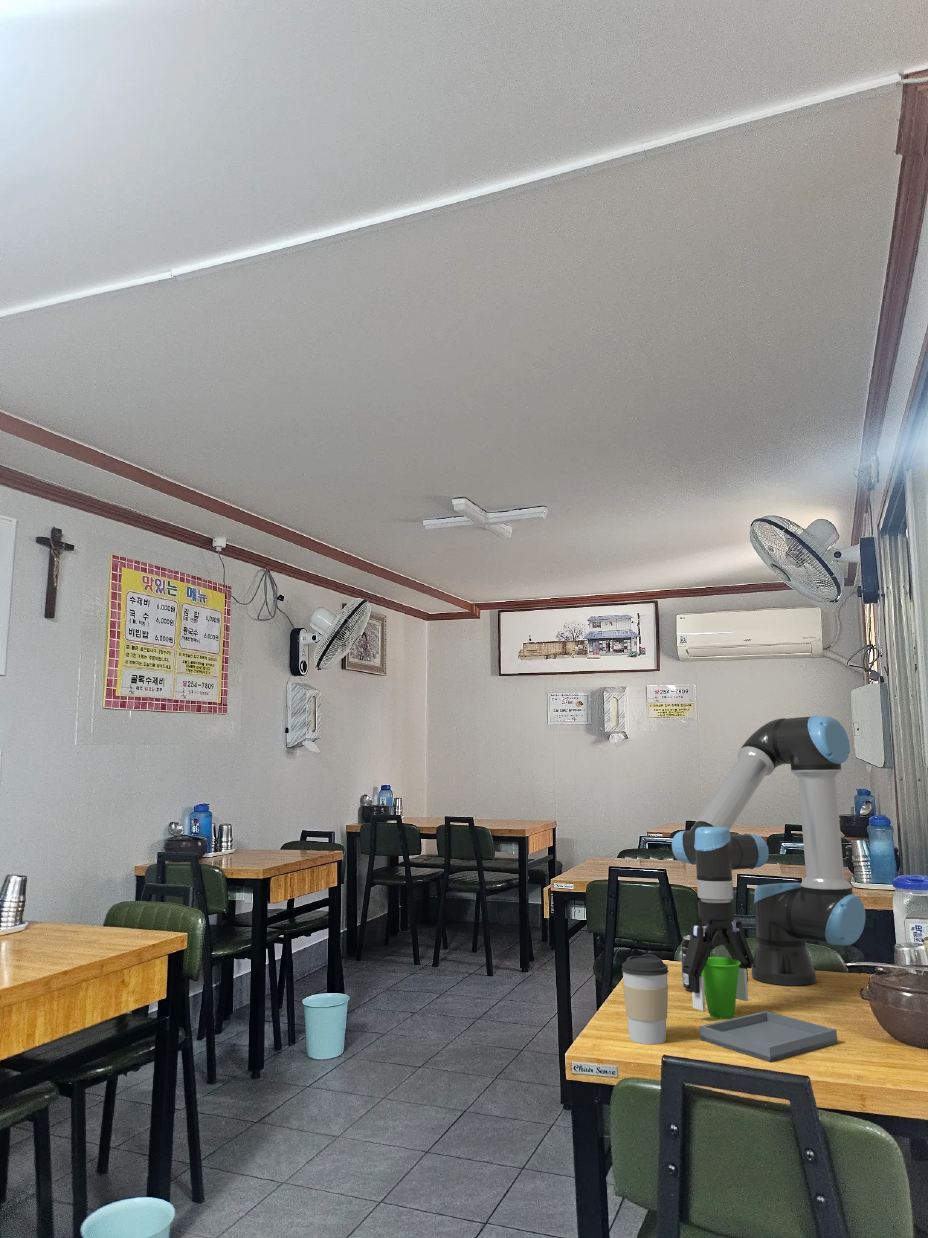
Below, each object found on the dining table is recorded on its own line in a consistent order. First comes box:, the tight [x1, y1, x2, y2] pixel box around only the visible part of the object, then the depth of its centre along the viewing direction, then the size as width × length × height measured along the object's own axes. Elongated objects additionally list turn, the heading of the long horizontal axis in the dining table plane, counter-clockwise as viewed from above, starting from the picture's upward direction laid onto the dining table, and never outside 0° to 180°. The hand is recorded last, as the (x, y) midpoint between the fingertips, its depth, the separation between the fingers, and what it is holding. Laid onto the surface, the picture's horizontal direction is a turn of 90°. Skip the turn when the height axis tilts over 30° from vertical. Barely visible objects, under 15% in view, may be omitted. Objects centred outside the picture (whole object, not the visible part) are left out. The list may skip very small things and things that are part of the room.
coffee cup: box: [621, 953, 670, 1045], centre depth 166 cm, size 9×9×15 cm
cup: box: [701, 956, 741, 1020], centre depth 182 cm, size 9×9×11 cm
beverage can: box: [680, 934, 712, 993], centre depth 204 cm, size 7×7×12 cm
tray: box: [698, 1010, 838, 1063], centre depth 164 cm, size 20×16×2 cm
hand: (721, 1004), depth 181 cm, fingers open, 13 cm apart
